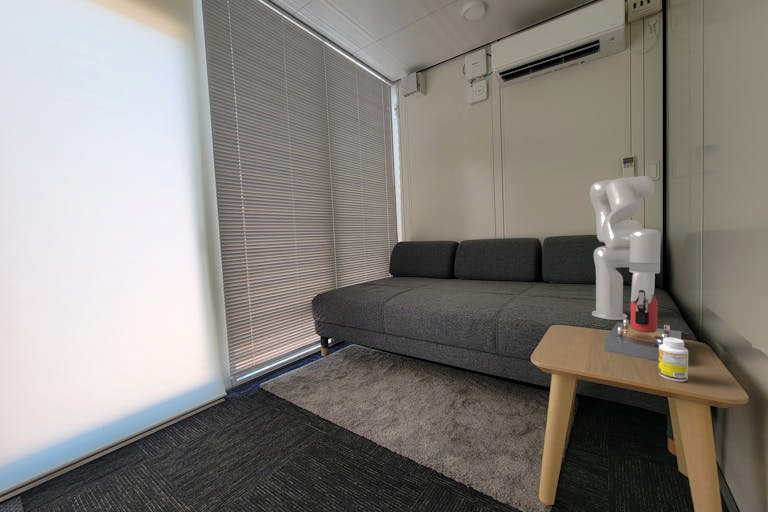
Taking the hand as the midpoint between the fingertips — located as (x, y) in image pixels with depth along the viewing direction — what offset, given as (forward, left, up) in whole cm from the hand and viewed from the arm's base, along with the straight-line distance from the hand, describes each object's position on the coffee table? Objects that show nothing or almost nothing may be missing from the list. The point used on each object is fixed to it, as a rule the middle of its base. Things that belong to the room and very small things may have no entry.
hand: (643, 320), depth 98 cm
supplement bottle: (+21, +8, -9) cm, 24 cm away
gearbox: (-1, 0, -9) cm, 9 cm away
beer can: (0, 0, -3) cm, 3 cm away
